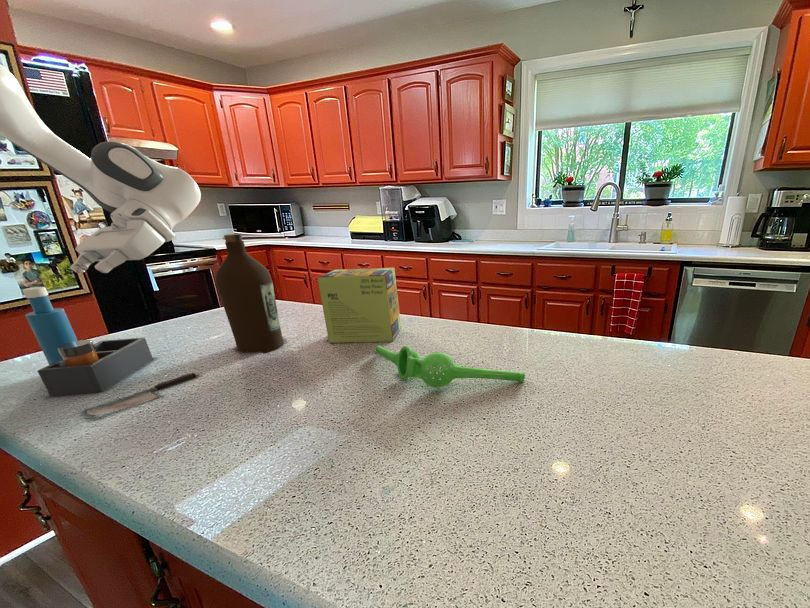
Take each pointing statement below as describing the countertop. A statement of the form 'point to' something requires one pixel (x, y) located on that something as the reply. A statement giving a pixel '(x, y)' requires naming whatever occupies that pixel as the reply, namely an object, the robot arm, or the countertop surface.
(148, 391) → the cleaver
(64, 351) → the spice jar
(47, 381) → the cup holder
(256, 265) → the olive oil
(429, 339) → the countertop surface
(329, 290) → the protein box
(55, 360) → the water bottle
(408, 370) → the lime squeezer
